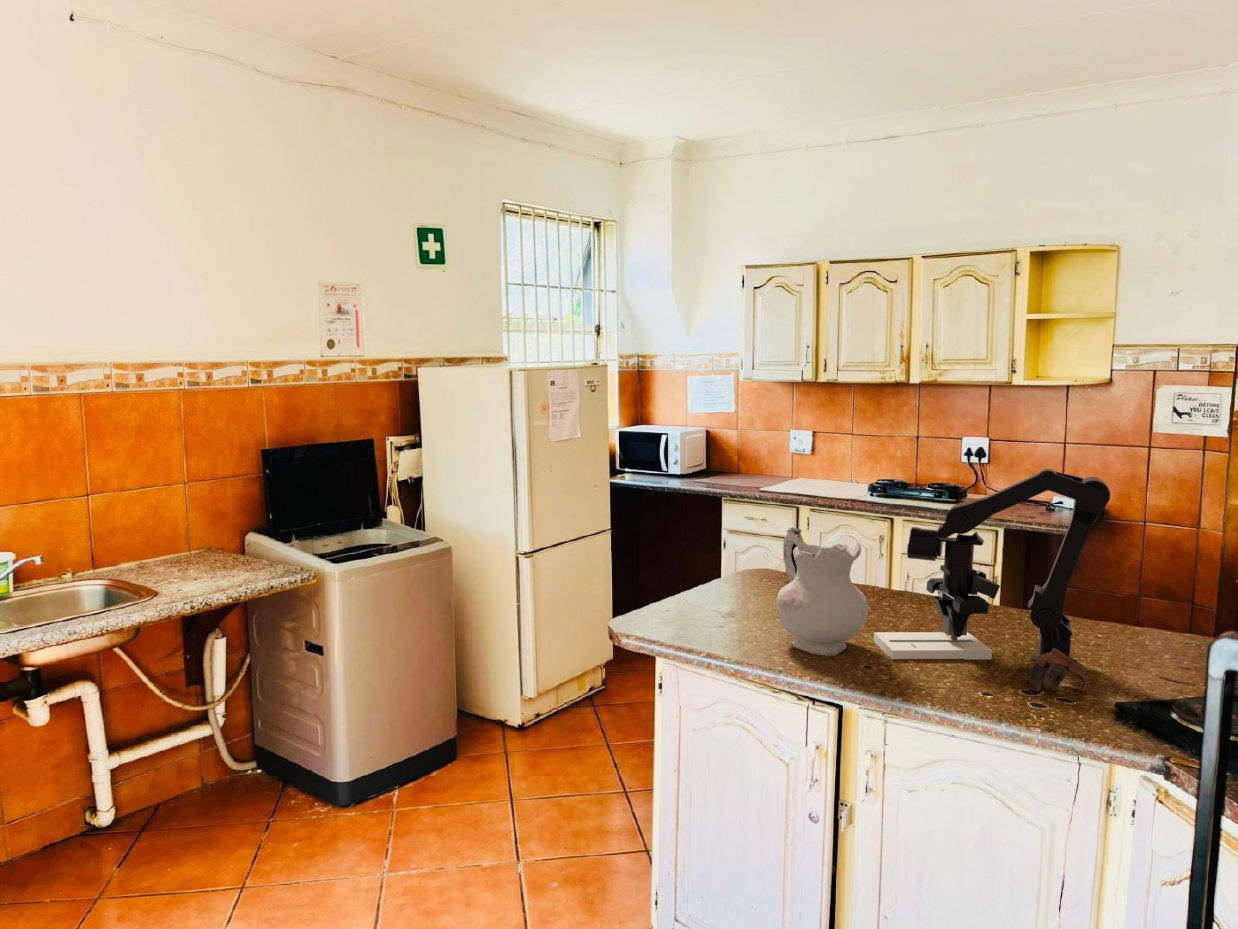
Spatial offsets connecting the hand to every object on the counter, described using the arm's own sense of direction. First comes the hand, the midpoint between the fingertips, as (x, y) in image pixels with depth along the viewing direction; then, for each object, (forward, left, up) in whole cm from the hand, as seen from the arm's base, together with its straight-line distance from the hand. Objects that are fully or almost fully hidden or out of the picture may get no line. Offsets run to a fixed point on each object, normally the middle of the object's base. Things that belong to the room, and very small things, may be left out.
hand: (954, 634), depth 189 cm
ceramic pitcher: (+4, +29, -4) cm, 30 cm away
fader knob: (0, 0, -1) cm, 1 cm away
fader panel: (0, +5, -4) cm, 6 cm away
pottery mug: (-22, -11, -4) cm, 25 cm away
